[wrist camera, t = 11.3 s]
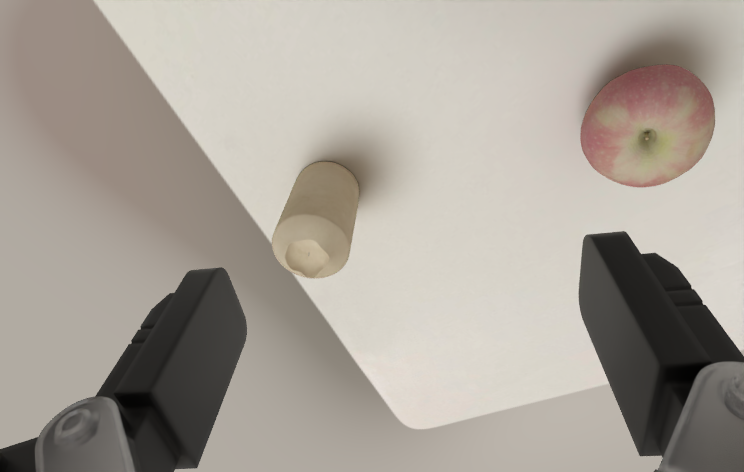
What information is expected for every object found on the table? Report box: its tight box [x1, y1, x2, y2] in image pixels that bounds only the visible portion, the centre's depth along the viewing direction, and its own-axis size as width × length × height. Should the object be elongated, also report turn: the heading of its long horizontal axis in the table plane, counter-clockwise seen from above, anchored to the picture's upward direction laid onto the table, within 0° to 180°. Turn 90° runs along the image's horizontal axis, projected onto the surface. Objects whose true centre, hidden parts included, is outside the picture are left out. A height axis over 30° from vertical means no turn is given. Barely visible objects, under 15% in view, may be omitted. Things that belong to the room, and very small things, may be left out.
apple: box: [581, 65, 715, 187], centre depth 33 cm, size 8×8×8 cm
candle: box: [272, 162, 359, 278], centre depth 38 cm, size 6×6×10 cm
